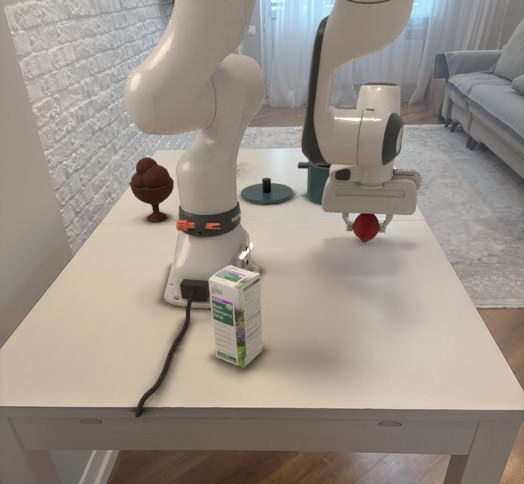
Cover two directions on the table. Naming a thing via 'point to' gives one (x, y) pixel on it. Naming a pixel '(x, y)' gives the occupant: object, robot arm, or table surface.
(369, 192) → the robot arm
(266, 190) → the lid
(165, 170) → the ice cream bowl
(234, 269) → the syrup box
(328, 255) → the table surface
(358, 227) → the onion
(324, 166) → the pot
